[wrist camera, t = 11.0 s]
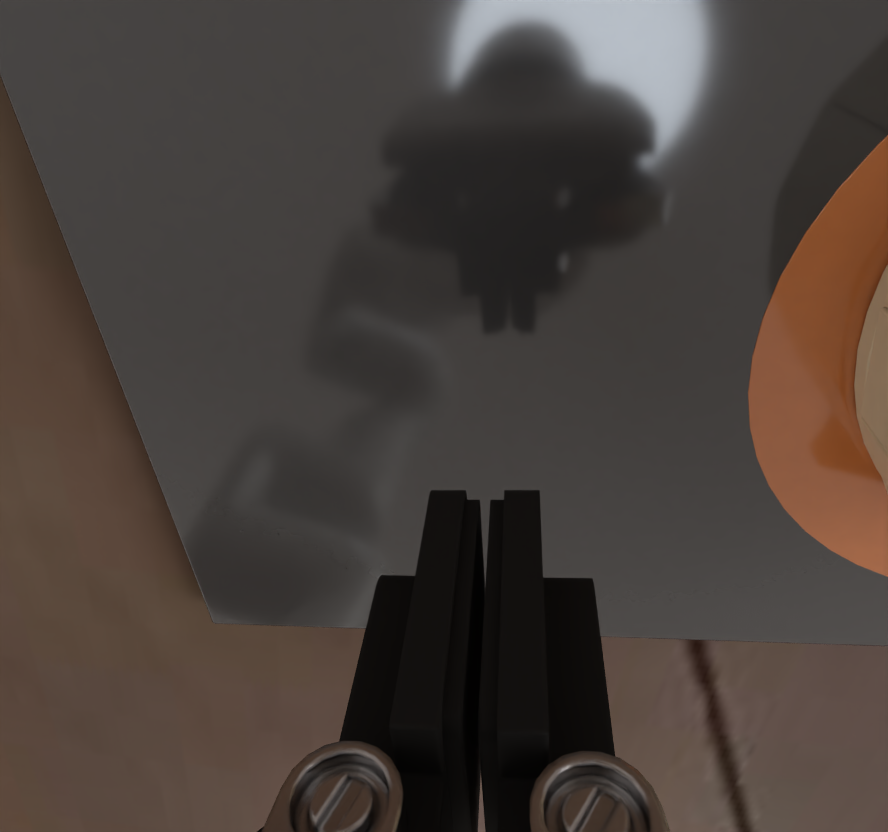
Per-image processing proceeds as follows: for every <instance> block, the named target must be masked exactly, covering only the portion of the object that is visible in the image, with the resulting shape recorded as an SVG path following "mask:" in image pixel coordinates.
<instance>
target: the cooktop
mask: <svg viewBox="0 0 888 832" xmlns="http://www.w3.org/2000/svg"><path fill="white" fill-rule="evenodd" d="M0 77H1V79H2V82H3V85H4V87H5V90H6V92H7V95H8V97H9V100H10V103H11V105H12V108H13V110H14V113H15V115H16V118H17V121H18V123H19V126H20V128H21V131H22V133H23V136H24V139H25V141H26V144H27V146H28V149H29V151H30V154H31V157H32V159H33V162H34V164H35V167H36V169H37V172H38V175H39V177H40V180H41V182H42V185H43V187H44V190H45V192H46V195H47V198H48V200H49V203H50V205H51V208H52V210H53V213H54V216H55V218H56V221H57V223H58V226H59V228H60V231H61V234H62V236H63V239H64V241H65V244H66V246H67V249H68V252H69V254H70V257H71V259H72V262H73V264H74V267H75V270H76V272H77V275H78V277H79V280H80V282H81V285H82V288H83V290H84V293H85V295H86V298H87V300H88V303H89V306H90V308H91V311H92V313H93V316H94V318H95V321H96V324H97V326H98V329H99V331H100V334H101V336H102V339H103V342H104V344H105V347H106V349H107V352H108V354H109V357H110V360H111V362H112V365H113V367H114V370H115V372H116V375H117V378H118V380H119V383H120V385H121V388H122V390H123V393H124V396H125V398H126V401H127V403H128V406H129V408H130V411H131V414H132V416H133V419H134V421H135V424H136V426H137V429H138V431H139V434H140V437H141V439H142V442H143V444H144V447H145V449H146V452H147V455H148V457H149V460H150V462H151V465H152V467H153V470H154V473H155V475H156V478H157V480H158V483H159V485H160V488H161V491H162V493H163V496H164V498H165V501H166V503H167V506H168V509H169V511H170V514H171V516H172V519H173V521H174V524H175V527H176V529H177V532H178V534H179V537H180V539H181V542H182V545H183V547H184V550H185V552H186V555H187V557H188V560H189V563H190V565H191V568H192V570H193V573H194V575H195V578H196V581H197V583H198V586H199V588H200V591H201V593H202V596H203V599H204V601H205V604H206V606H207V609H208V611H209V614H210V617H211V619H212V622H213V623H215V624H242V625H271V626H301V627H331V628H360V629H366V626H367V622H368V617H369V613H370V609H371V605H372V600H373V596H374V592H375V588H376V585H377V581H378V579H379V577H380V576H381V575H408V576H415V574H416V568H417V562H418V557H419V551H420V545H421V539H422V534H423V528H424V522H425V517H426V511H427V505H428V499H429V494H430V491H431V490H466V493H467V500H480V507H481V524H482V542H483V559H484V576H485V585H486V567H487V550H488V532H489V515H490V500H504V490H540V510H541V536H542V563H543V577H545V578H593V582H594V587H595V595H596V603H597V611H598V619H599V628H600V636H601V637H627V638H657V639H686V640H716V641H746V642H775V643H805V644H835V645H864V646H888V493H887V490H886V488H885V485H884V482H883V480H882V477H881V475H880V473H879V472H878V470H877V469H876V467H875V465H874V463H873V461H872V459H871V457H870V454H869V452H868V450H867V448H866V446H865V444H864V441H863V437H862V434H861V430H860V426H859V422H858V419H857V414H856V401H855V388H854V381H855V371H856V360H857V350H858V345H859V341H860V337H861V334H862V330H863V326H864V322H865V318H866V314H867V311H868V308H869V306H870V303H871V301H872V298H873V296H874V294H875V291H876V289H877V286H878V284H879V281H880V279H881V276H882V274H883V272H884V270H885V268H886V266H887V265H888V0H0Z"/></svg>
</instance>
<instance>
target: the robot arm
mask: <svg viewBox="0 0 888 832" xmlns="http://www.w3.org/2000/svg"><path fill="white" fill-rule="evenodd" d="M480 773H481V778H482V791H483V804H484V817H485V829H486V832H670V829H669V826H668V823H667V820H666V817H665V814H664V811H663V808H662V805H661V803H660V801H659V799H658V797H657V795H656V793H655V791H654V789H653V787H652V786H651V785H650V783H649V782H648V781H647V780H646V779H645V778H644V777H643V775H642V774H641V773H640V772H639V771H638V770H637V769H635V768H634V767H632V766H631V765H629V764H628V763H626V762H625V761H623V760H622V759H620V758H618V757H615V751H614V743H613V735H612V727H611V718H610V710H609V702H608V694H607V685H606V677H605V669H604V661H603V652H602V644H601V636H600V628H599V619H598V611H597V603H596V595H595V587H594V582H593V578H545V577H543V563H542V536H541V510H540V490H504V500H490V515H489V532H488V550H487V567H486V585H485V576H484V559H483V542H482V524H481V507H480V500H467V493H466V490H431V491H430V494H429V499H428V505H427V511H426V517H425V522H424V528H423V534H422V539H421V545H420V551H419V557H418V562H417V568H416V574H415V576H408V575H381V576H380V577H379V579H378V581H377V585H376V588H375V592H374V596H373V600H372V605H371V609H370V613H369V617H368V622H367V626H366V630H365V634H364V639H363V643H362V647H361V651H360V656H359V660H358V664H357V668H356V673H355V677H354V681H353V685H352V689H351V694H350V698H349V702H348V706H347V711H346V715H345V719H344V723H343V728H342V732H341V736H340V740H339V742H336V743H332V744H328V745H324V746H322V747H321V748H319V749H317V750H315V751H314V752H312V753H310V754H308V755H307V756H306V757H305V758H304V759H303V760H302V761H301V762H299V763H298V764H297V765H296V766H295V767H294V768H293V769H292V771H291V772H290V774H289V776H288V777H287V779H286V781H285V782H284V784H283V785H282V787H281V789H280V792H279V794H278V796H277V798H276V801H275V803H274V805H273V807H272V810H271V812H270V814H269V816H268V819H267V821H266V823H265V825H264V827H263V828H261V829H260V830H259V831H257V832H478V813H479V793H480Z"/></svg>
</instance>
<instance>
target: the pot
mask: <svg viewBox="0 0 888 832" xmlns="http://www.w3.org/2000/svg"><path fill="white" fill-rule="evenodd" d="M854 388H855V401H856V414H857V419H858V422H859V426H860V430H861V434H862V437H863V441H864V444H865V446H866V448H867V450H868V452H869V454H870V457H871V459H872V461H873V463H874V465H875V467H876V469H877V470H878V472H879V473H880V475H881V477H882V480H883V482H884V485H885V488H886V490H887V493H888V265H887V266H886V268H885V270H884V272H883V274H882V276H881V279H880V281H879V284H878V286H877V289H876V291H875V294H874V296H873V298H872V301H871V303H870V306H869V308H868V311H867V314H866V318H865V322H864V326H863V330H862V334H861V337H860V341H859V345H858V350H857V360H856V371H855V381H854Z"/></svg>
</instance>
